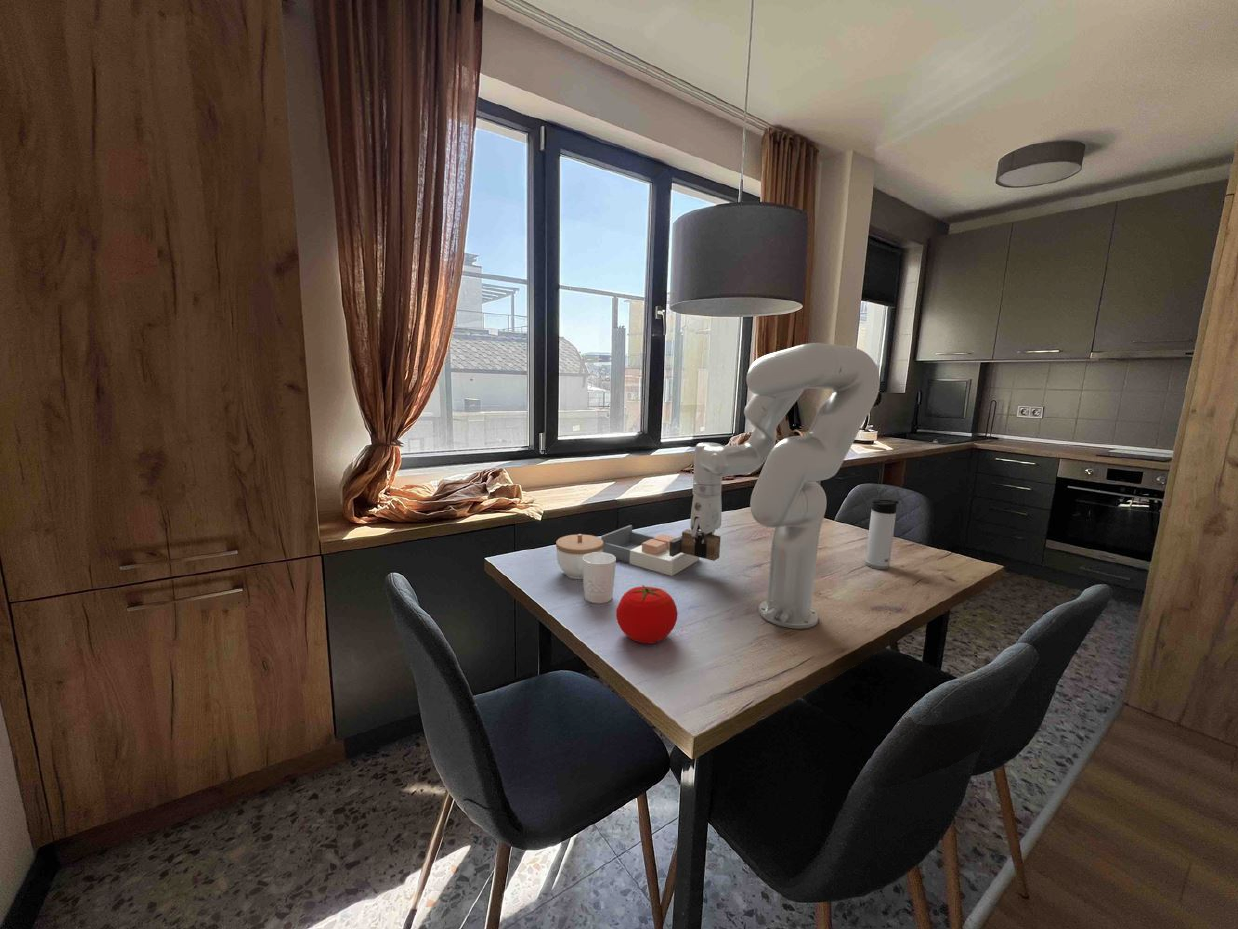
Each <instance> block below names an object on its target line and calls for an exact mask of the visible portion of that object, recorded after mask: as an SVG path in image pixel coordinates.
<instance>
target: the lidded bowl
mask: <svg viewBox="0 0 1238 929" xmlns="http://www.w3.org/2000/svg"><path fill="white" fill-rule="evenodd" d="M555 543H556V544H555V546H556V559H557V563H558V565H559V569H561V571H562V572H563V573H564V574H565V575H566V577H568V578H570V579H573V580H583V556H584V555H586V554H589V553H594V552H603V544H604V543H603V541H602V539H601V537H598V536H595V535H592V534H582V533H578V534H569V535H565V536H561V537H559V538H558V539H557V540H556V542H555Z"/></svg>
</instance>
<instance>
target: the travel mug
mask: <svg viewBox="0 0 1238 929" xmlns="http://www.w3.org/2000/svg"><path fill="white" fill-rule="evenodd" d="M898 505H900V503H899V501H898V500H896V499H894V500H892V499H876V500H873V502H872V506H871V509H870V510H871V512H870V520H869V530H868V536H867V537H868V538H867V546H866V555H865V561H864V562H865V565H866V567H868V566H870V567H869V568H871V567H872V568H871V569H874V568H876V569H875V570H879V569H886V570H888V569H889V568H890V563H891V556H892V547H893V543H894V542H893V539H894V533H895V532H894V531H895V523H896V516H897V507H898ZM887 568H888V569H887Z"/></svg>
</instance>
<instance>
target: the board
mask: <svg viewBox="0 0 1238 929" xmlns="http://www.w3.org/2000/svg"><path fill="white" fill-rule="evenodd" d="M669 551H670V549H668V550H667V549H666V551H664V552H662V553H660V554H658V555H654V554H650V553H646V552H643V551H642V545H641V546H638V547H636V548H634V549H632V550H630V564H629V565H633V566H637V567H640V568H643V569H647V570H651V571H654V572H657V573H660V574H663V575H664V574H665V575H667V576H671V577H672V576H675V575H676V574H678V573H679V572H681V571H683V570H685V569H686V568H688V567H689V566H692V564H694V563H696V562H698V561H700V557H697V556H693V555H689V554H685V553H679V554H677V555H676V556H674V557H672V556H669Z"/></svg>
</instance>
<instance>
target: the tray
mask: <svg viewBox="0 0 1238 929" xmlns="http://www.w3.org/2000/svg"><path fill="white" fill-rule="evenodd" d="M655 537H656V536H652V535H648V534H645V533H639V532H635V531H633V525H632V524H629V525H626V526H624V527H621V528H619V529H616V530H614V531H611V532H608V533H606V534H603V535H601V537H600V539H602V541H603V543H604V544H603V553H609V554H612V555H614V556H615V557H616V561H620V562H623V563H627V564H629V565H631V564H630V550H632V549H634V548H636V547H638V546H641V545H642V543H643V542H646V541H648V540H650V539H653V538H655Z"/></svg>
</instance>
